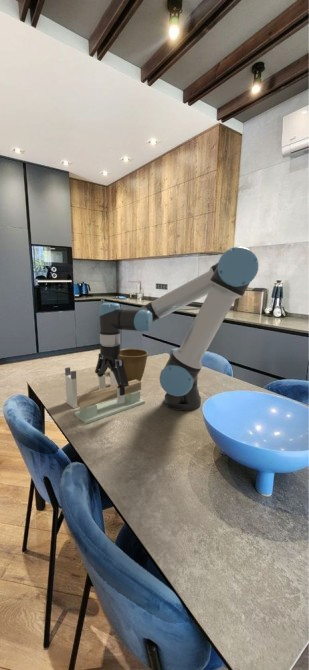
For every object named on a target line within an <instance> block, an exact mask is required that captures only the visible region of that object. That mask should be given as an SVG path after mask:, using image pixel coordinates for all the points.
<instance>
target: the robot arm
mask: <svg viewBox="0 0 309 670" xmlns="http://www.w3.org/2000/svg"><path fill="white" fill-rule="evenodd" d="M258 271H259V259H258V257H257V256H256V254H255V253H254V252H253V251H252V250H251V249H249V248H247V247H244V246H235V247H231V248H228V249H227V250H226V251H225V252H224V253H223V254H221V256H220V257H219V260H218V262H217V263H215V264H213V265H212V266H210V268H209V270H208V271H206V272H204V273H202V274H201V275H199V276H197V277H195V278H193V279H191V280H189V281H188V282H186V283H184V284H182V285H180V286H178V287H176V288H174V289H172V290H171V291H168V292H167V293H165V294H163V295H161V296H160V297H158V298H155V299H154V300H152V301H151V302H148V303H146V304H144V305H143V306H140V307H137V308H135V309H123V308H121V307H120V306H121V305H120V303H118V302H103V303H101V304H100V305H99V314H98V317H99V318H98V319H99V343H100V347H99V348H100V349H99V351H100V353H98V358H97V363H96V366H95V370H94V374H96V375H97V377H98V378H97V379H98V390H100V389H104V388H107V387H106V372H107V370H108V369H109V370H110V369H111V371H112V372H113V374H114V376H115V379H116V381H117V384H118V387H117V397H116V399H117V403H118V404H120V403H123V402H125V401H124V395H125V387H126V386H129V384H128V380H127V376H126V373H125V369H124V364H123V360H118V355H119V354H120V350H121V330H122V331H135V332H149V331H150V330H151V328H152V327H153V323H154V322H156V321H159V320H160V319H162V318H164V317H166V316H168V315H169V314H172V313H174V312H175V311H178V310H179V309H181V308H184V307H186V306H187V305H189V304H192V303H193V302H196V301H197V300H200V299H201V298H203V297H205V296H206V297H205V299H204V301H203V303H202V304H201V307H200V309H198V312H197V314H196V316H195V318H194V320H193V322H192V324H191V326H190V327H189V329H188V331H187V333H186V336H185V337H184V339H183V340H182V343H181V345H180V346H179V347H177V348H172V349H170V351H169V359H168V360H167V361H166V364H165V365H164V368H163V369H162V370H161V371H160V373H159V374H160V375H159V384H160V387H161V388H162V389H163V391H164V392H165V394H164V400H163V401H164V404H165V406H167V407H168V408H170V409H173V410H177V411H193V410H195V409H196V410H197V409H198V408H200V406H201V405H202V398H201V395H200V391H199V387H198V380H199V379H198V378H199V376H198V375H199V373H200V372H201V370H202V368H203V363H202V360H203V357H204V356H205V353H206V352H207V351H208V348H209V347H210V345H211V343H212V341H213V339H214V337H216V334H217V332H218V331H219V329H220V327H221V325H222V324H223V321H224V320H225V318H226V317H227V314H228V313H229V312H230V309H231V307H232V306H233V305H234V302H235V300H237V299H239V298H242V297H243V295H244V294H245V292H246V291H247V289H248V287H249V286H250V283H251V282H252V281H253V280H254V279H255V278H256V277H257V274H258ZM116 367H117V368H116Z"/></svg>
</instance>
